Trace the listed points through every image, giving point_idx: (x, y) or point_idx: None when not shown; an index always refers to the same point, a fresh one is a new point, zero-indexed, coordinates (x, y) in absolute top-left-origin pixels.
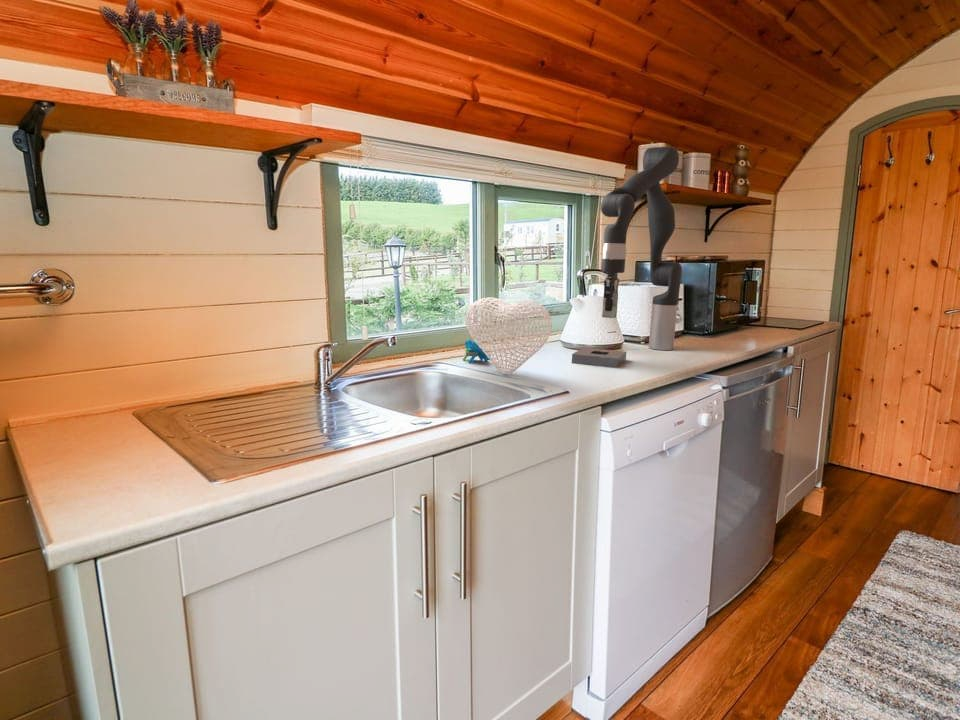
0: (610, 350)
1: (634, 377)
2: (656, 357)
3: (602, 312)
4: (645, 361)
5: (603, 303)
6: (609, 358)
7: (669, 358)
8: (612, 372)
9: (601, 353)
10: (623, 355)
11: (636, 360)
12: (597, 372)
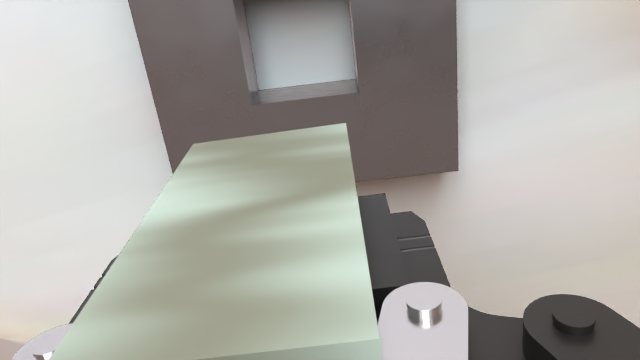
0: (440, 71)
1: (49, 297)
2: (634, 256)
3: (179, 167)
4: (474, 241)
5: (138, 236)
6: (168, 154)
7: (634, 311)
8: (67, 193)
9: (353, 34)
10: (358, 177)
11: (476, 198)
12: (2, 135)
